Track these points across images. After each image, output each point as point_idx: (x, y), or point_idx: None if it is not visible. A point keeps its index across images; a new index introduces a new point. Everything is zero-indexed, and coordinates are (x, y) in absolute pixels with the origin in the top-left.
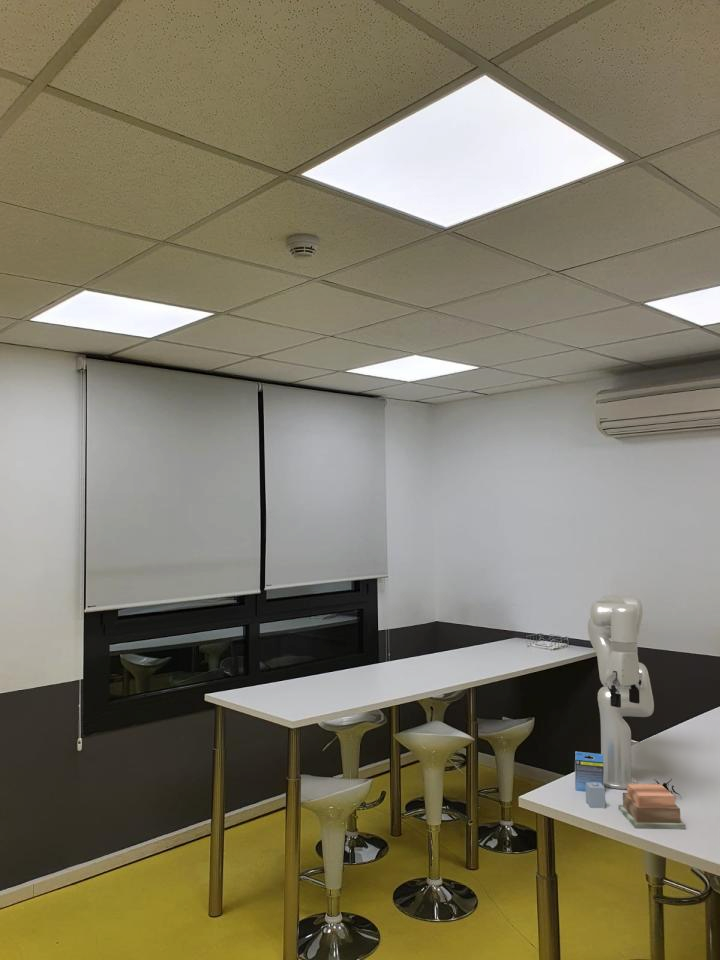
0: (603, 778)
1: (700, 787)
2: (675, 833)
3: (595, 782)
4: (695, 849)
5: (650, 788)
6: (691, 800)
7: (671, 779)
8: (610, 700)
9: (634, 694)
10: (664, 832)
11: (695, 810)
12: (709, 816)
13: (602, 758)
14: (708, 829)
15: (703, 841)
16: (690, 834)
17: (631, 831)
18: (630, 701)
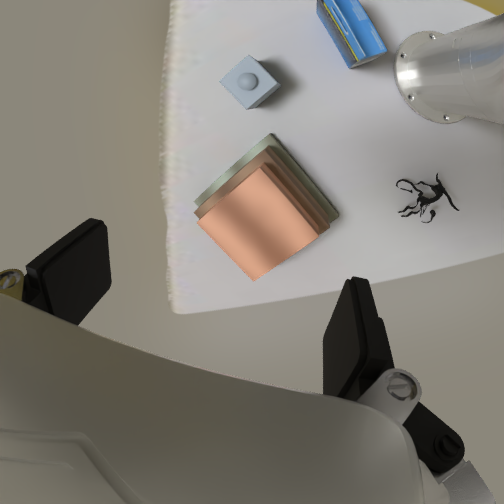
0: (353, 65)
1: (499, 236)
2: (229, 259)
3: (251, 79)
4: (192, 294)
5: (266, 226)
6: (425, 239)
7: (456, 209)
8: (69, 232)
9: (334, 366)
10: None
11: (373, 258)
12: None
13: (360, 56)
14: (289, 295)
15: (231, 298)
16: (244, 278)
17: (178, 199)
18: (343, 288)
